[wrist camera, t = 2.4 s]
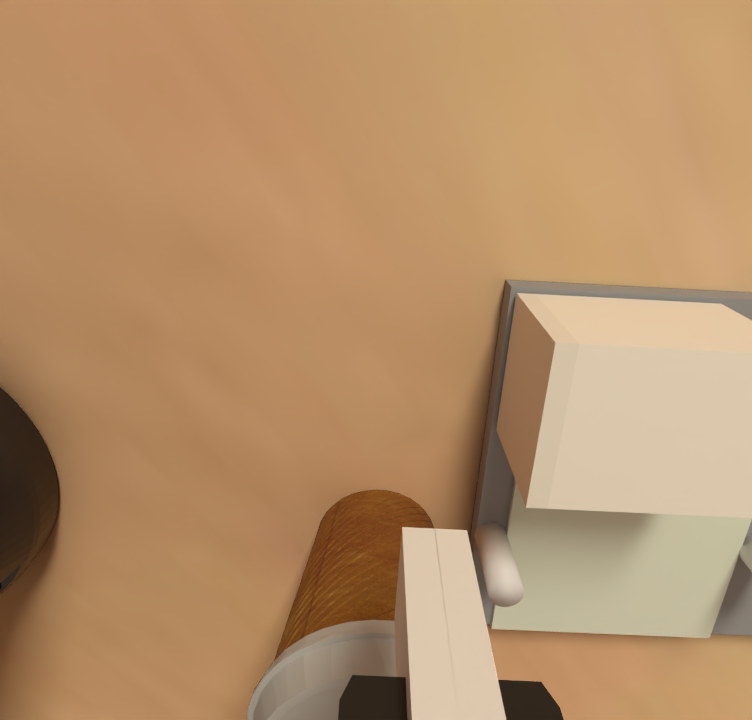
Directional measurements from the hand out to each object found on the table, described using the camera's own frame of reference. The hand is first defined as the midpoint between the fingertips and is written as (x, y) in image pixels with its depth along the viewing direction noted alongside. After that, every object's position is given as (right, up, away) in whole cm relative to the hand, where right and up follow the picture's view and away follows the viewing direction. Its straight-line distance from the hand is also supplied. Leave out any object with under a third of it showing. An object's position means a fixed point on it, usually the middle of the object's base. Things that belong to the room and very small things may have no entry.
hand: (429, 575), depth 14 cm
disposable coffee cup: (-1, -4, +18) cm, 19 cm away
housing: (+9, +5, +13) cm, 16 cm away
